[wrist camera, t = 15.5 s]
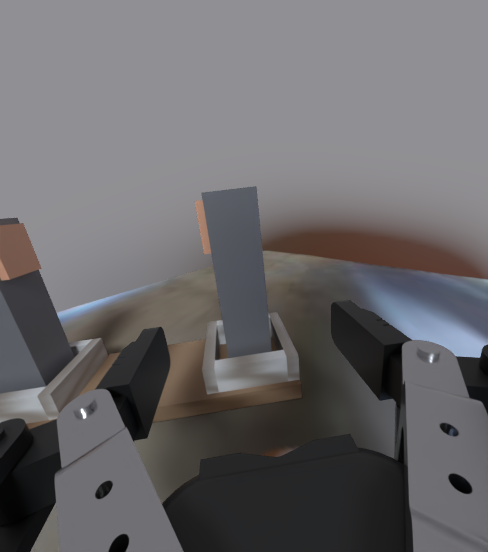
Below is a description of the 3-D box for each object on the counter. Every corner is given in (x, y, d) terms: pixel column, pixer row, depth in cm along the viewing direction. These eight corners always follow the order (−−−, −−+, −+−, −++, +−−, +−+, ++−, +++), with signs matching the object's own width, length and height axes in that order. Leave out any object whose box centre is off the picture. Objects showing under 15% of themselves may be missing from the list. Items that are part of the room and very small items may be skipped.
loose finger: (265, 342, 25) (249, 189, 20) (273, 367, 22) (256, 186, 17) (223, 349, 25) (197, 196, 20) (224, 375, 21) (193, 193, 16)
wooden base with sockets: (278, 339, 28) (275, 310, 27) (302, 397, 20) (300, 359, 18) (45, 374, 27) (31, 345, 26) (-38, 454, 18) (-65, 416, 17)
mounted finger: (85, 370, 24) (24, 217, 20) (60, 400, 21) (-24, 219, 16) (41, 377, 24) (-32, 223, 19) (7, 409, 20) (-95, 228, 15)
